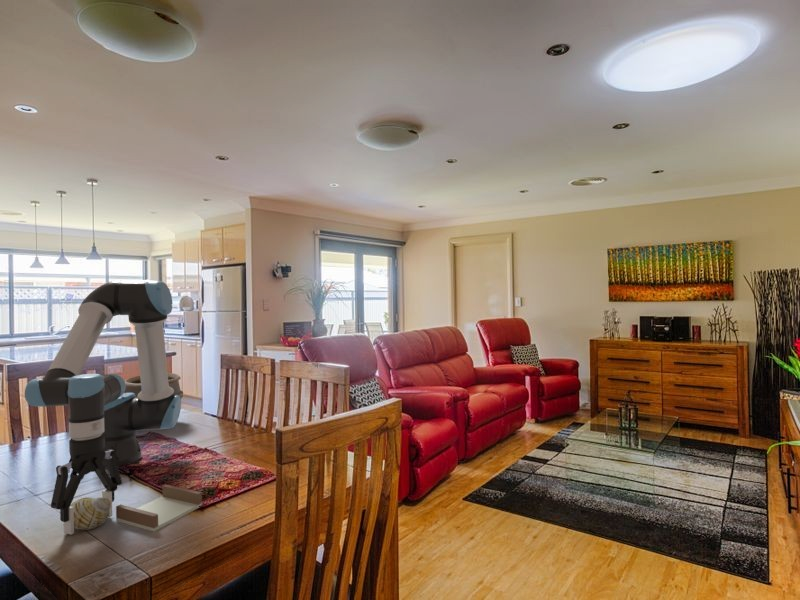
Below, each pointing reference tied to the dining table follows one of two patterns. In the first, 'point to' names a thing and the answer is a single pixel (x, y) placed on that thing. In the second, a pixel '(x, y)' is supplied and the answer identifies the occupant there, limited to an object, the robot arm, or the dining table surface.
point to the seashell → (90, 512)
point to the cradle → (161, 508)
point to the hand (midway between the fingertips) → (88, 523)
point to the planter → (135, 387)
